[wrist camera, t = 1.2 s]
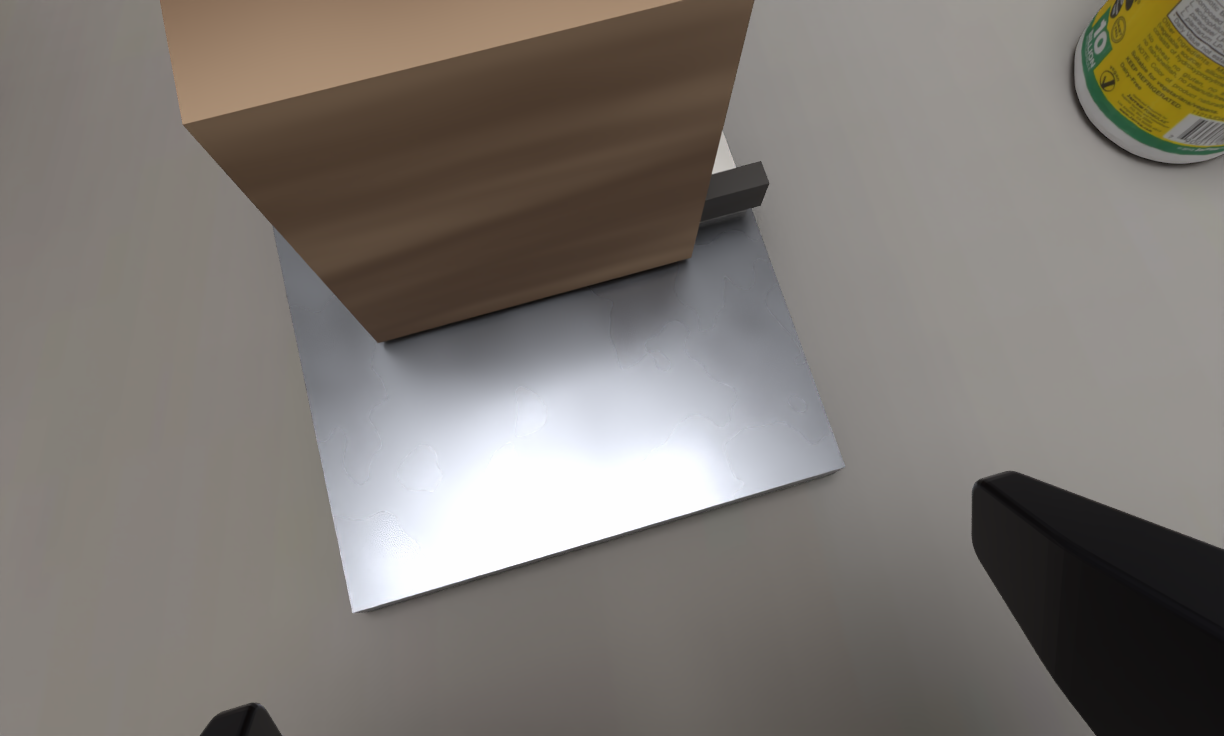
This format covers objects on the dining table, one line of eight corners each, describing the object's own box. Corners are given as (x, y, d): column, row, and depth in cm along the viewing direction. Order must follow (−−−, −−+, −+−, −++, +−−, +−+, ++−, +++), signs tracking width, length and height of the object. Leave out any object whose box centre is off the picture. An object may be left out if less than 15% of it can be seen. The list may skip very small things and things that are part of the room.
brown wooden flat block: (767, 237, 22) (894, -53, 12) (378, 342, 21) (182, 124, 11) (741, 168, 22) (843, -163, 13) (360, 269, 22) (160, -1, 12)
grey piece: (832, 474, 22) (1053, 349, 11) (366, 612, 21) (109, 625, 10) (597, -181, 27) (590, -698, 16) (217, -94, 26) (-55, -580, 15)
